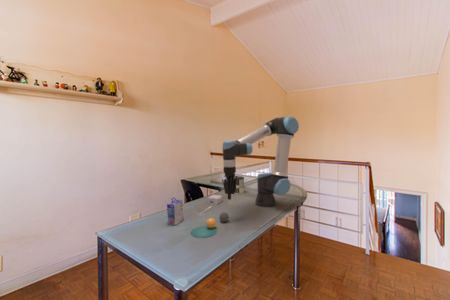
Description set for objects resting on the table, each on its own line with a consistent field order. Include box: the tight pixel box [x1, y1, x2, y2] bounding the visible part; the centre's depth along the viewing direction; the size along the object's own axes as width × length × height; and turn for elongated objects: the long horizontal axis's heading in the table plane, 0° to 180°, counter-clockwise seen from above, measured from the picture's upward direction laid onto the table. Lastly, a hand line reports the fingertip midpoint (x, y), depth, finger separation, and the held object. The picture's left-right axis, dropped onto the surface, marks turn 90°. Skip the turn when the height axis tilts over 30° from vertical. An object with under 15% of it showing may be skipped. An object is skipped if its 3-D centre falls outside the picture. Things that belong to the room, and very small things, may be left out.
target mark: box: [190, 225, 218, 239], centre depth 118 cm, size 14×14×1 cm
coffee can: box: [235, 175, 245, 195], centre depth 198 cm, size 10×10×14 cm
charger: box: [206, 194, 223, 205], centre depth 173 cm, size 5×9×15 cm
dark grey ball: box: [219, 211, 230, 223], centre depth 131 cm, size 6×6×6 cm
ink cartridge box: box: [166, 197, 184, 226], centre depth 132 cm, size 10×6×14 cm, turn 161°
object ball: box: [205, 217, 217, 229], centre depth 122 cm, size 6×6×6 cm
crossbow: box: [195, 205, 213, 216], centre depth 151 cm, size 16×13×2 cm
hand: (230, 204), depth 135 cm, fingers closed
